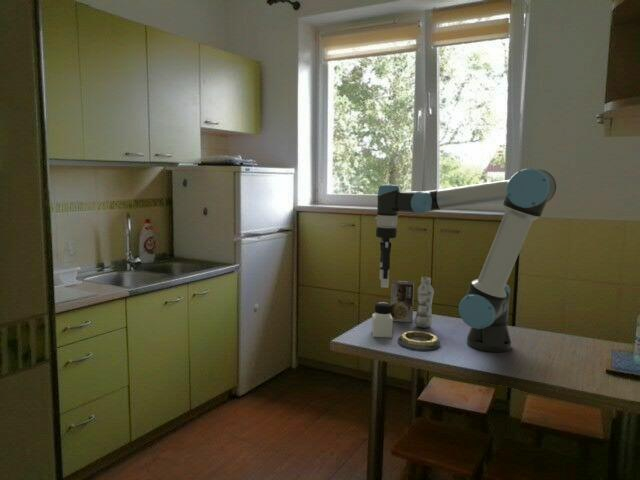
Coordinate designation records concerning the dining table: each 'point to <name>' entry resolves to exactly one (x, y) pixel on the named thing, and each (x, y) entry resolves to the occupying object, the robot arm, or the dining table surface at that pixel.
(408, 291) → the coffee box
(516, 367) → the dining table surface
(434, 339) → the ring
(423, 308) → the plastic bottle
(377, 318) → the medicine bottle
